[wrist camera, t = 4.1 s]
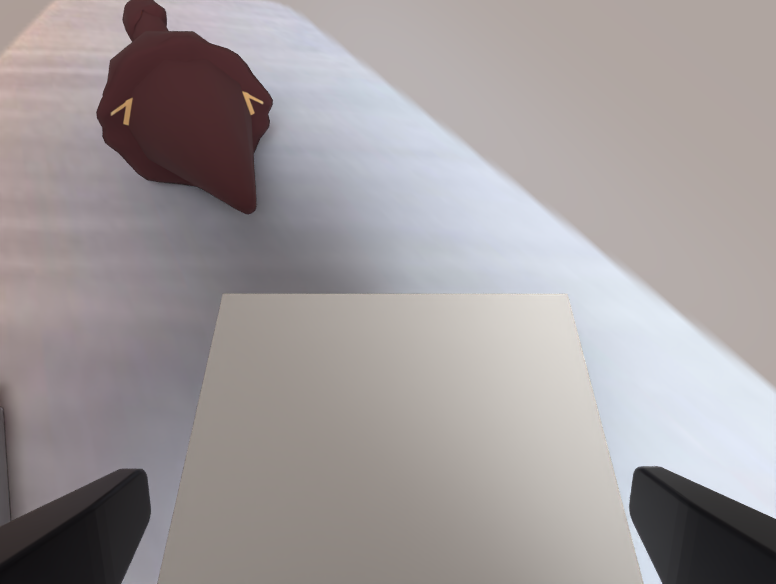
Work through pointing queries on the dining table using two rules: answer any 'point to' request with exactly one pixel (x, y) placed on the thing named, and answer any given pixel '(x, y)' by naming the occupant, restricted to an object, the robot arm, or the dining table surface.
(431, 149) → the dining table surface
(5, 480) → the rail board
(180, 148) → the brown toy animal
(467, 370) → the block
